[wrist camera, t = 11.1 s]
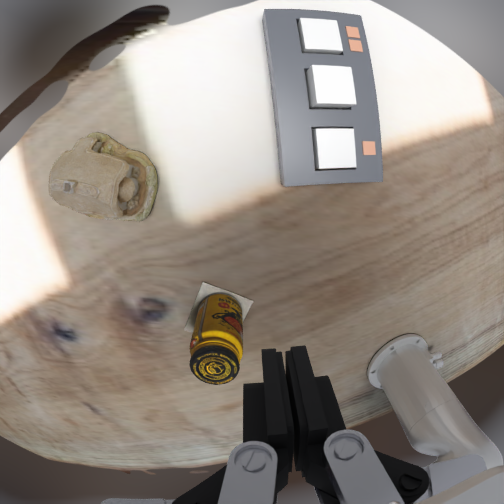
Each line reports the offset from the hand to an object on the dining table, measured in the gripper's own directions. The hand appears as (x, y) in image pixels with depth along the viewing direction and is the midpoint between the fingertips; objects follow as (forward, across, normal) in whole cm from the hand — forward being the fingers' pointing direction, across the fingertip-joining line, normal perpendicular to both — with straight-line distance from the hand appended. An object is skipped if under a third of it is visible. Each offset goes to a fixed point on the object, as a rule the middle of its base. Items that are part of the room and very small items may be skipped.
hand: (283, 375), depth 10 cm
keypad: (+26, -9, -16) cm, 31 cm away
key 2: (+24, -9, -16) cm, 30 cm away
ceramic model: (+26, +18, -8) cm, 33 cm away
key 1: (+25, -9, -23) cm, 35 cm away
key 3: (+25, -9, -9) cm, 28 cm away
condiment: (+26, +6, +12) cm, 30 cm away
